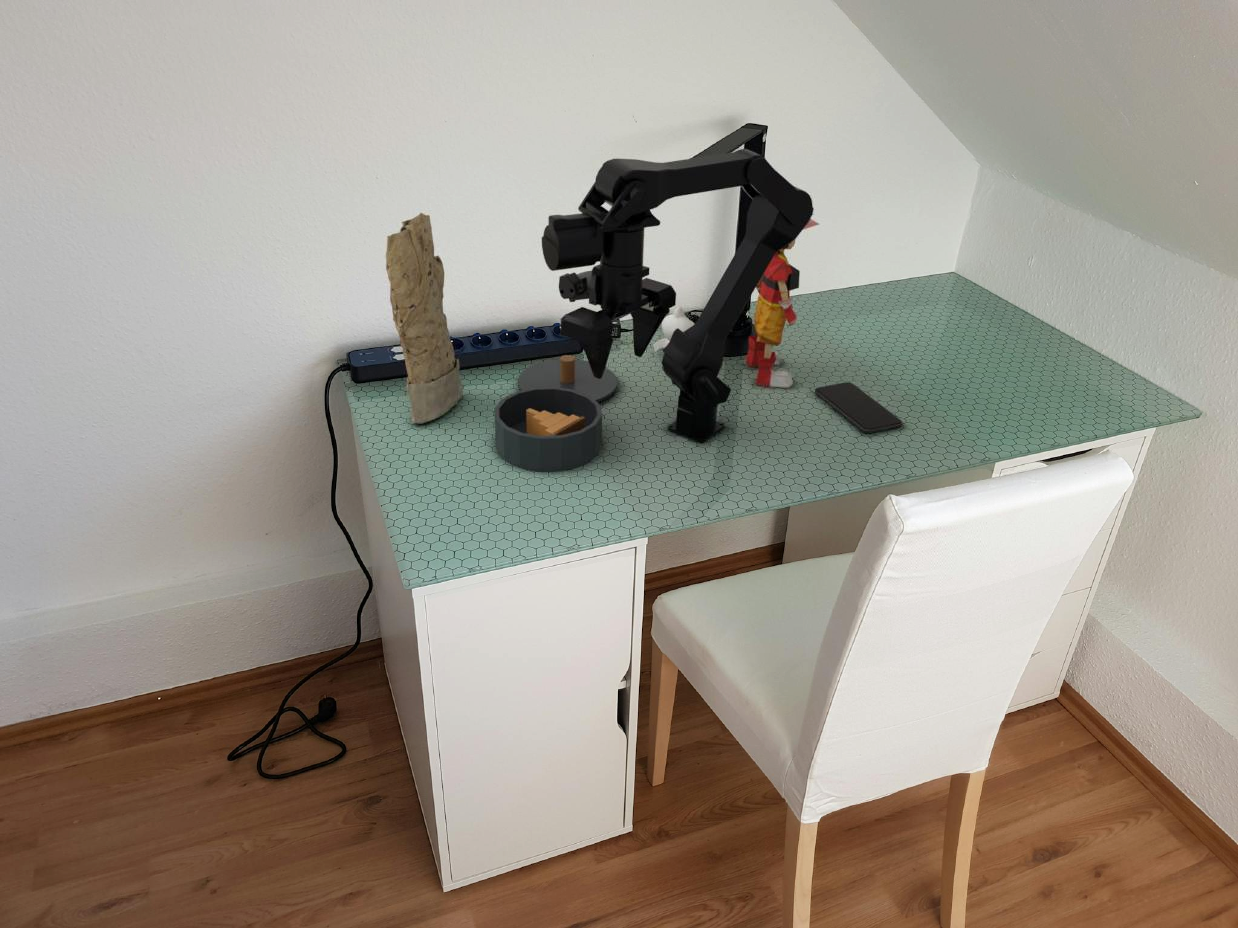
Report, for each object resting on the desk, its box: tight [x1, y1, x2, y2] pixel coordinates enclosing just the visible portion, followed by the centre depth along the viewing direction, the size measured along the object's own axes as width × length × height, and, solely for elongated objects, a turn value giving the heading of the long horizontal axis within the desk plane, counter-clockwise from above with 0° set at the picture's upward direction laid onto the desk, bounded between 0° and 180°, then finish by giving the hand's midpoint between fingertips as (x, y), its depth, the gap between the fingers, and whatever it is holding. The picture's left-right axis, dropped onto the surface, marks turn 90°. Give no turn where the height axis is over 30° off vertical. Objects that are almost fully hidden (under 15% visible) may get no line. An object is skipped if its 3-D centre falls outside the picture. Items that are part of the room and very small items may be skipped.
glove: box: [385, 212, 464, 424], centre depth 147 cm, size 14×10×30 cm
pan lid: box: [517, 354, 618, 403], centre depth 159 cm, size 16×16×5 cm
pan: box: [493, 387, 603, 473], centre depth 143 cm, size 15×15×6 cm
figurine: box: [652, 305, 695, 353], centre depth 166 cm, size 12×5×11 cm, turn 33°
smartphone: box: [814, 381, 904, 434], centre depth 156 cm, size 7×1×15 cm
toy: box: [744, 213, 820, 389], centre depth 159 cm, size 12×9×30 cm
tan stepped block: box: [526, 408, 585, 436], centre depth 143 cm, size 8×7×4 cm
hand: (618, 366), depth 138 cm, fingers open, 9 cm apart
